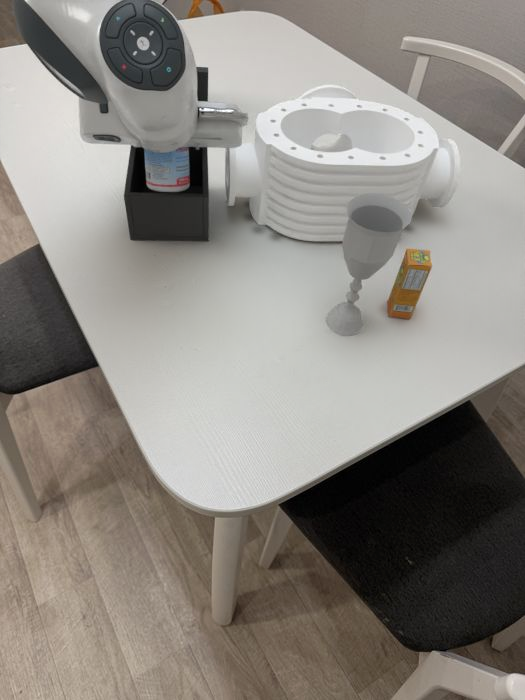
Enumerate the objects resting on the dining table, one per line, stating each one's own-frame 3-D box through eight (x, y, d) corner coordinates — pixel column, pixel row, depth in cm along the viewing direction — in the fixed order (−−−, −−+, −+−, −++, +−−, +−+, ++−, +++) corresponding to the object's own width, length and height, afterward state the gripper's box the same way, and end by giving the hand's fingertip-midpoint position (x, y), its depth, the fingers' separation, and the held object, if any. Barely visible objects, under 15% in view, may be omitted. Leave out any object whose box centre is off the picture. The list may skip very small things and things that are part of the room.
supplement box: (384, 300, 73) (406, 245, 65) (408, 303, 73) (433, 249, 65) (385, 317, 71) (408, 263, 63) (410, 320, 71) (436, 267, 63)
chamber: (208, 241, 78) (208, 197, 72) (130, 240, 76) (123, 195, 70) (207, 188, 86) (207, 144, 80) (136, 186, 85) (131, 141, 79)
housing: (229, 244, 78) (233, 160, 67) (221, 161, 91) (223, 80, 80) (445, 244, 82) (483, 165, 71) (408, 165, 96) (434, 88, 85)
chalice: (333, 346, 67) (367, 238, 53) (309, 310, 71) (335, 199, 56) (380, 332, 69) (424, 224, 55) (354, 297, 73) (390, 188, 59)
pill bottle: (187, 194, 71) (185, 105, 65) (143, 192, 71) (137, 103, 65) (191, 183, 76) (189, 100, 70) (150, 181, 76) (144, 97, 70)
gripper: (250, 83, 59) (241, 121, 72) (65, 74, 56) (91, 116, 70) (250, 141, 60) (241, 168, 73) (67, 134, 57) (93, 163, 71)
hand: (166, 142), depth 72 cm, fingers closed on pill bottle, 6 cm apart
